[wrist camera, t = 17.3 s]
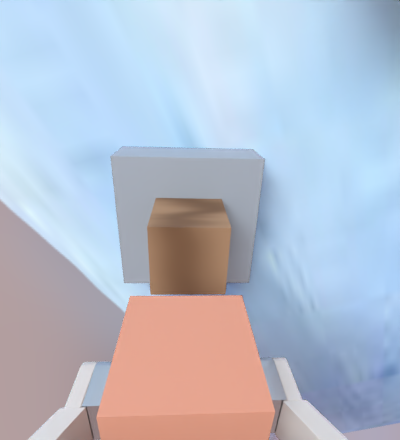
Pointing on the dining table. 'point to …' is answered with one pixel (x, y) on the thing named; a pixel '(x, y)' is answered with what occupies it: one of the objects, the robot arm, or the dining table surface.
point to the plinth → (185, 188)
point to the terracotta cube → (186, 373)
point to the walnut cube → (188, 246)
